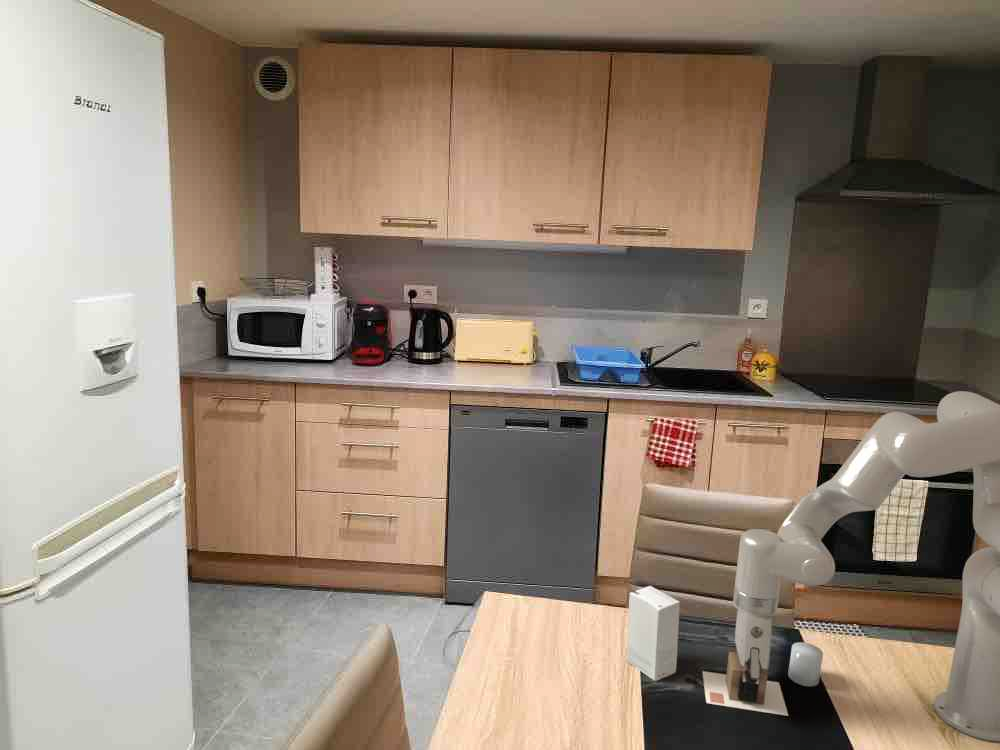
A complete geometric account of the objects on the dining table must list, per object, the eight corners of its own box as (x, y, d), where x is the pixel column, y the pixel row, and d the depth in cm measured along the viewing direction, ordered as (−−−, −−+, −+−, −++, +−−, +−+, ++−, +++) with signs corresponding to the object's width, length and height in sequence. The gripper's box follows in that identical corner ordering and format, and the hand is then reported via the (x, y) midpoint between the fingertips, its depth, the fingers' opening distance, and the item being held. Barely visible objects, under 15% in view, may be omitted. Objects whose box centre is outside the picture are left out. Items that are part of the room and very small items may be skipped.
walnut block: (759, 685, 140) (762, 656, 139) (763, 704, 135) (767, 674, 134) (725, 680, 142) (729, 651, 140) (729, 699, 136) (732, 669, 135)
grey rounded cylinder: (815, 672, 146) (819, 644, 145) (821, 689, 141) (826, 660, 139) (785, 668, 147) (789, 640, 146) (790, 684, 142) (794, 656, 140)
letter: (778, 683, 142) (778, 682, 142) (788, 716, 132) (788, 715, 132) (702, 672, 144) (702, 671, 144) (706, 703, 135) (706, 702, 135)
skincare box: (676, 674, 143) (684, 602, 140) (653, 683, 140) (660, 610, 137) (645, 652, 150) (651, 583, 147) (622, 660, 147) (629, 590, 144)
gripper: (786, 626, 125) (773, 722, 129) (769, 579, 142) (759, 665, 146) (739, 620, 127) (728, 715, 130) (728, 574, 143) (719, 660, 147)
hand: (744, 688), depth 138 cm, fingers closed on walnut block, 6 cm apart
